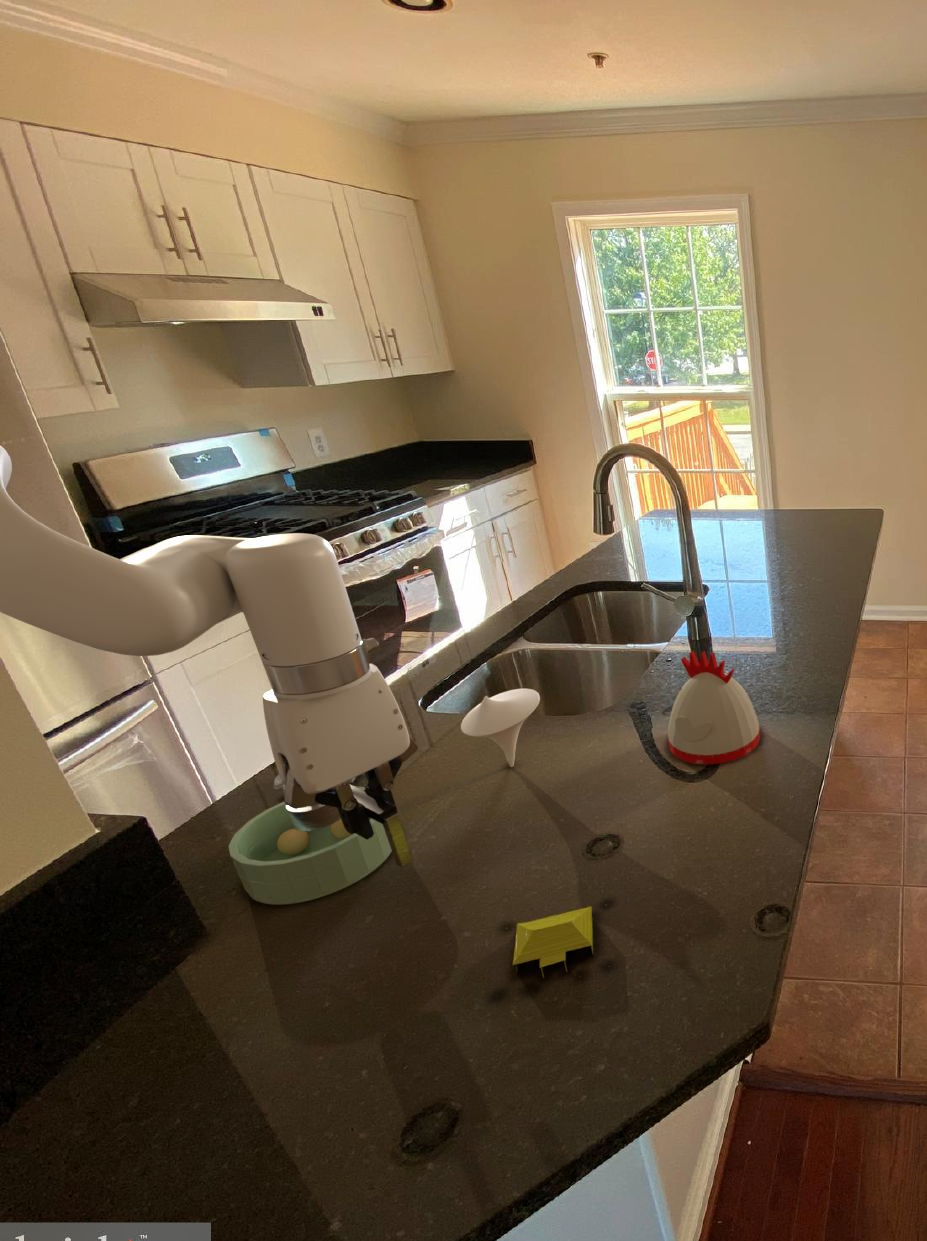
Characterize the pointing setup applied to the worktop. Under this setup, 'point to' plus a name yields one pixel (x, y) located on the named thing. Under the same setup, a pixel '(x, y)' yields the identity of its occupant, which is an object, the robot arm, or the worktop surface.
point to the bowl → (302, 859)
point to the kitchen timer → (711, 715)
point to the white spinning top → (501, 718)
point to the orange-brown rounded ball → (293, 841)
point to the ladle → (375, 810)
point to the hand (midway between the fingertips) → (374, 826)
